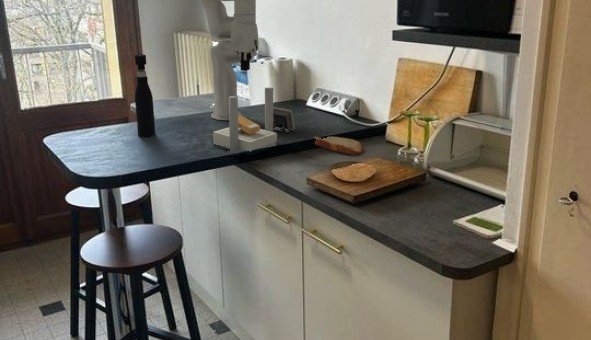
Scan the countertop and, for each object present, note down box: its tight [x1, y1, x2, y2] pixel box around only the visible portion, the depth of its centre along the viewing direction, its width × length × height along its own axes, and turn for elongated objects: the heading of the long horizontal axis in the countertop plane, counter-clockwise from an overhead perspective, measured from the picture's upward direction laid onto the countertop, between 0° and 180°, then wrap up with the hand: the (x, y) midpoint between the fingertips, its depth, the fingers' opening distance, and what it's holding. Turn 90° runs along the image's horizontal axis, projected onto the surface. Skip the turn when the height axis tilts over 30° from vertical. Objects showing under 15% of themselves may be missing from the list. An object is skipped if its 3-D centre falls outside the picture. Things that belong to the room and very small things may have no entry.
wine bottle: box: [134, 53, 156, 138], centre depth 210 cm, size 6×6×30 cm
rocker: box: [238, 114, 261, 134], centre depth 202 cm, size 10×5×2 cm, turn 52°
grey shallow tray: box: [212, 127, 278, 152], centre depth 204 cm, size 18×14×6 cm
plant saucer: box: [328, 160, 364, 172], centre depth 178 cm, size 15×15×3 cm
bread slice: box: [314, 136, 365, 156], centre depth 204 cm, size 18×18×4 cm
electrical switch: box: [273, 106, 296, 131], centre depth 221 cm, size 9×5×9 cm, turn 57°
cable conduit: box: [228, 96, 239, 151], centre depth 193 cm, size 5×5×20 cm
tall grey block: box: [264, 86, 274, 132], centre depth 206 cm, size 5×5×20 cm
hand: (245, 70), depth 207 cm, fingers closed
